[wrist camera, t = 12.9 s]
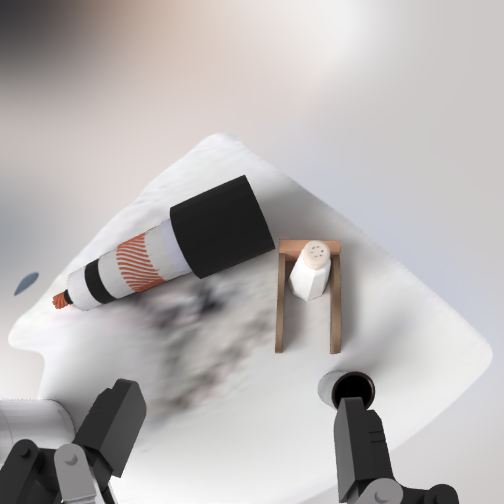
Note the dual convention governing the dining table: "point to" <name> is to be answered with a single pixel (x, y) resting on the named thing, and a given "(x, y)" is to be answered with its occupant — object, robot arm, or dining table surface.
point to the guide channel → (292, 251)
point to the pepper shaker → (311, 271)
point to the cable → (177, 247)
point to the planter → (346, 388)
